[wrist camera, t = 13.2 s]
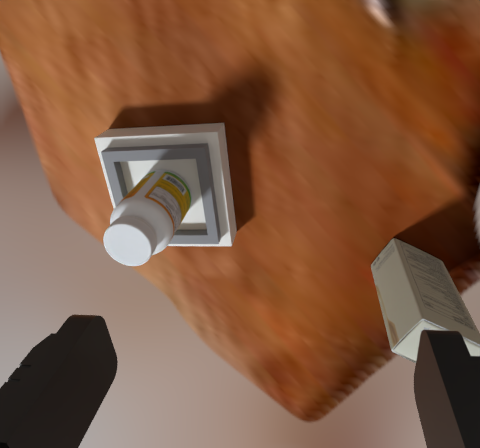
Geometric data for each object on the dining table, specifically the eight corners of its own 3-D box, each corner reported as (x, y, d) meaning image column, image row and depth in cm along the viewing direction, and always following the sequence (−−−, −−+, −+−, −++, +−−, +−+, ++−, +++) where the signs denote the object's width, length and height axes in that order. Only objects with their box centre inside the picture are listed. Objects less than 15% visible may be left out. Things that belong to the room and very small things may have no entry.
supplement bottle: (144, 215, 41) (101, 271, 33) (137, 166, 39) (87, 213, 30) (195, 219, 41) (163, 276, 32) (191, 169, 38) (155, 218, 30)
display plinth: (108, 129, 41) (88, 141, 37) (224, 122, 38) (214, 135, 35) (134, 231, 46) (119, 251, 43) (236, 231, 44) (229, 252, 40)
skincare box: (368, 265, 43) (385, 350, 33) (393, 235, 41) (419, 316, 31) (420, 290, 44) (452, 382, 33) (447, 262, 42) (490, 351, 31)
